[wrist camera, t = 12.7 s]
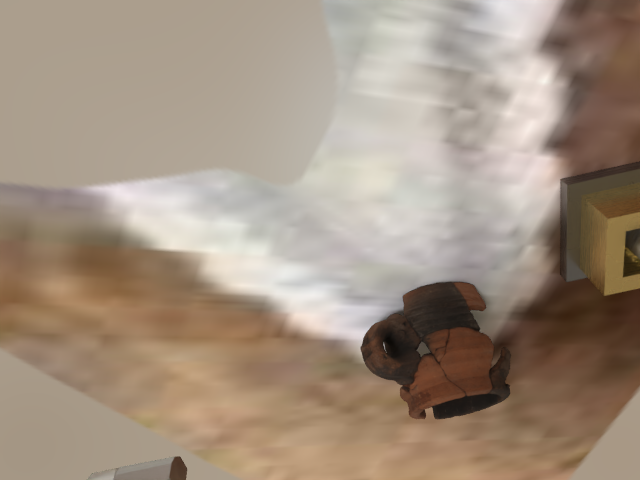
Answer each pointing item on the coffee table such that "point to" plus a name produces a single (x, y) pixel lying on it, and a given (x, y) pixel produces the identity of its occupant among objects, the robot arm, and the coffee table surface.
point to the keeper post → (571, 213)
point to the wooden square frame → (610, 238)
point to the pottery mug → (439, 353)
